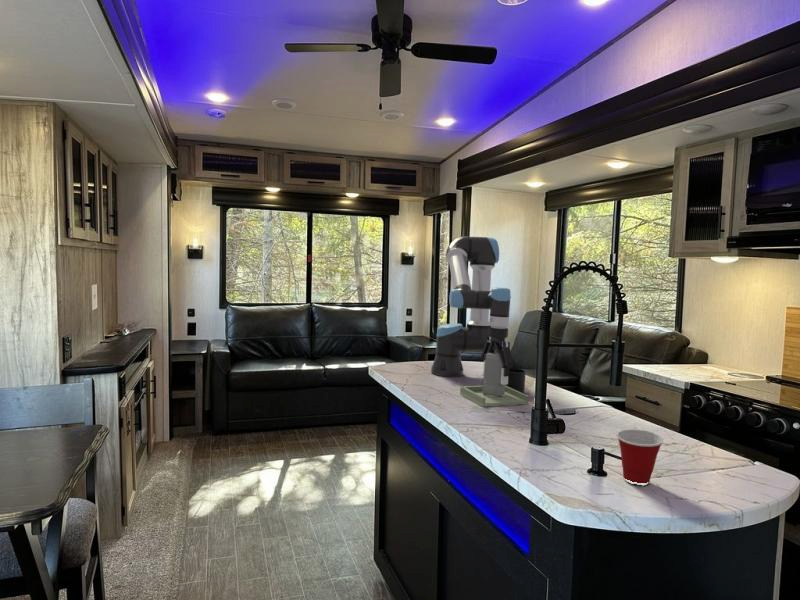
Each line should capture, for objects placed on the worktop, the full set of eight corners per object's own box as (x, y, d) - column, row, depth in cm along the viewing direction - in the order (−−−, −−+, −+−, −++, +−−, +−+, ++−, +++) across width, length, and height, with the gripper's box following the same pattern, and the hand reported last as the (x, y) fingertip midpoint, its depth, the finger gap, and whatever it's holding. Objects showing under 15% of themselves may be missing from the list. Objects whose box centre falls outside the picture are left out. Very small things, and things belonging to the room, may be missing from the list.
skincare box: (481, 394, 211) (484, 354, 209) (485, 390, 217) (488, 351, 216) (503, 397, 207) (505, 356, 206) (506, 393, 214) (509, 353, 213)
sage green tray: (460, 394, 214) (460, 386, 214) (503, 392, 221) (503, 384, 221) (482, 406, 197) (482, 398, 197) (528, 404, 204) (529, 396, 204)
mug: (514, 387, 232) (516, 366, 231) (528, 394, 220) (529, 372, 219) (494, 387, 229) (496, 366, 228) (507, 394, 218) (509, 372, 217)
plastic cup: (603, 476, 137) (606, 430, 136) (632, 470, 142) (636, 426, 141) (638, 494, 127) (643, 444, 126) (669, 487, 132) (673, 440, 131)
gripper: (474, 322, 221) (471, 373, 222) (507, 331, 197) (503, 388, 199) (490, 322, 223) (487, 373, 225) (524, 331, 200) (520, 387, 202)
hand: (495, 380), depth 212 cm, fingers open, 13 cm apart
